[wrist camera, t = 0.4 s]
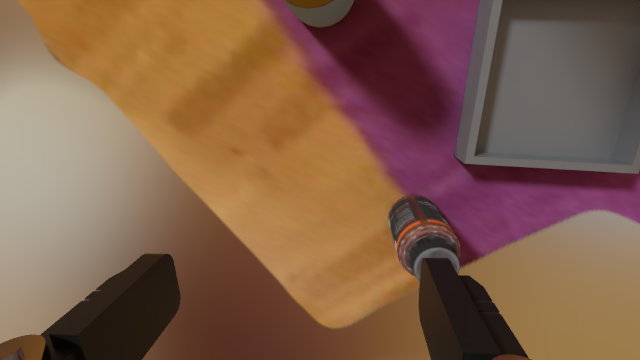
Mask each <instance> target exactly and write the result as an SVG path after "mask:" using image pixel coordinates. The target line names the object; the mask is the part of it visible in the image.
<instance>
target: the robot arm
mask: <svg viewBox="0 0 640 360" xmlns="http://www.w3.org/2000/svg"><path fill="white" fill-rule="evenodd" d="M179 305H180V291H179V286H178V281H177V276H176V271H175V266H174V261H173V258H172V257H171V255H169V254H144V255H142V256H141V257H140V258H139V259H137V260H136V261H135V262H134V263H133V264H131V265H130V266H129V267H128V268H126V269H125V270H124V271H122V272H120V273H118V274H116V275H114V276H113V277H111V278H109V279H108V280H107V281H106V282H104V283H103V284H102V285H101V286H99V287H98V288H97V289H96V291H94V292H92V293H91V294H90V295H89V296H87V297H86V298H85V300H84V301H81V302H80V303H79V304H77V305H76V306H75V307H74V308H72V309H71V310H70V311H69V312H68V313H66V314H65V315H64V316H63V317H61V318H60V319H59V320H58V321H57V322H55V323H54V324H53V325H52V326H51V327H49V328H48V329H47V330H46V331H44V332H43V333H42V334H41V335H25V336H20V337H17V338H13V339H11V340H8V341H5V342H3V343H1V344H0V360H142V359H143V357H144V356H145V355H146V353H147V352H148V351H149V349H150V348H151V347H152V345H153V344H154V343H155V341H156V340H157V339H158V337H159V336H160V335H161V333H162V332H163V330H164V329H165V328H166V327H167V325H168V324H169V323H170V321H171V320H172V319H173V317H174V316H175V314H176V313H177V311H178V308H179ZM419 315H420V322H421V326H422V329H423V333H424V336H425V340H426V343H427V347H428V350H429V354H430V357H431V360H531V359H529V358H528V356H527V355H526V353H525V351H524V350H523V348H522V347H521V345H520V344H519V342H518V340H517V339H516V337H515V336H514V334H513V332H512V331H511V329H510V328H509V326H508V325H507V323H506V322H505V320H504V319H503V317H502V316H501V314H499V310H498V309H497V307H496V306H495V304H494V303H492V300H491V298H490V296H489V295H488V293H487V292H486V290H485V288H484V287H483V286H482V285H480V284H479V283H478V282H476V281H475V280H474V279H472V278H471V277H470V276H459V275H458V274H457V272H456V270H455V268H454V266H453V265H452V263H451V261H450V259H449V258H422V261H421V271H420V288H419Z"/></svg>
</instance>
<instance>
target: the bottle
mask: <svg viewBox="0 0 640 360" xmlns="http://www.w3.org/2000/svg"><path fill="white" fill-rule="evenodd" d="M283 1H284V2H285V3H286V5H287V6H288V7H289V8H290V9H291V11H292V12H293V13H294V14H295V15H296V17H297V18H298V19H299V20H301V21H302V22H304V23H305V24H307V25H309V26H313V27H317V28H323V27H329V26H332V25H334V24H336V23H338V22H339V21H341V20H342V19H343V18H344V17H345V16H346V15H347V14H348V12H349V10H350V9H351V7H352V5H353V2H354V0H283Z"/></svg>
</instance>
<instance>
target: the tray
mask: <svg viewBox="0 0 640 360" xmlns="http://www.w3.org/2000/svg"><path fill="white" fill-rule="evenodd" d="M454 157H456V158H457V159H459V160H460V161H461V162H463V163H464V164H478V165H495V166H513V167H530V168H547V169H565V170H582V171H599V172H617V173H634V174H638V173H639V170H640V0H480V2H479V8H478V14H477V20H476V26H475V33H474V39H473V45H472V51H471V57H470V63H469V69H468V75H467V81H466V88H465V94H464V100H463V106H462V112H461V118H460V124H459V130H458V136H457V143H456V149H455V155H454Z"/></svg>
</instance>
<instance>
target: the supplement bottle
mask: <svg viewBox="0 0 640 360" xmlns="http://www.w3.org/2000/svg"><path fill="white" fill-rule="evenodd" d="M388 220H389V227H390V230H391V234H392V237H393V241H394V244H395V248H396V251H397V254H398V258H399V261H400V263H401V264H402V266H403V267H404V268H405V270H406V271H408V272H409V273H410V274H411V275H414V276H416V277H417V279H418V280H419V281H420V271H421V261H422V258H449V259H450V261H451V263H452V265H453V266H454V268H455V270H456V272H457V274H458V273H459V269H460V263H459V258H460V253H461V249H460V243H459V240H458V238H457V236H456V235H455V233H454V232H453V230H452V228H451V227H450V226H449V224H448V223H447V221H446V220H445V219H444V217H443V216H442V214H441V213H440V211H439V210H438V209H437V207H436V206H435V205H434V204H433V203H432V202H431V201H430V200H429V199H427V198H425V197H423V196H418V195H411V196H406V197H403V198H401V199H400V200H398V201H397V202H396V203H395V204H394V205H393V206H392V208H391V210H390V212H389V218H388Z"/></svg>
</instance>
